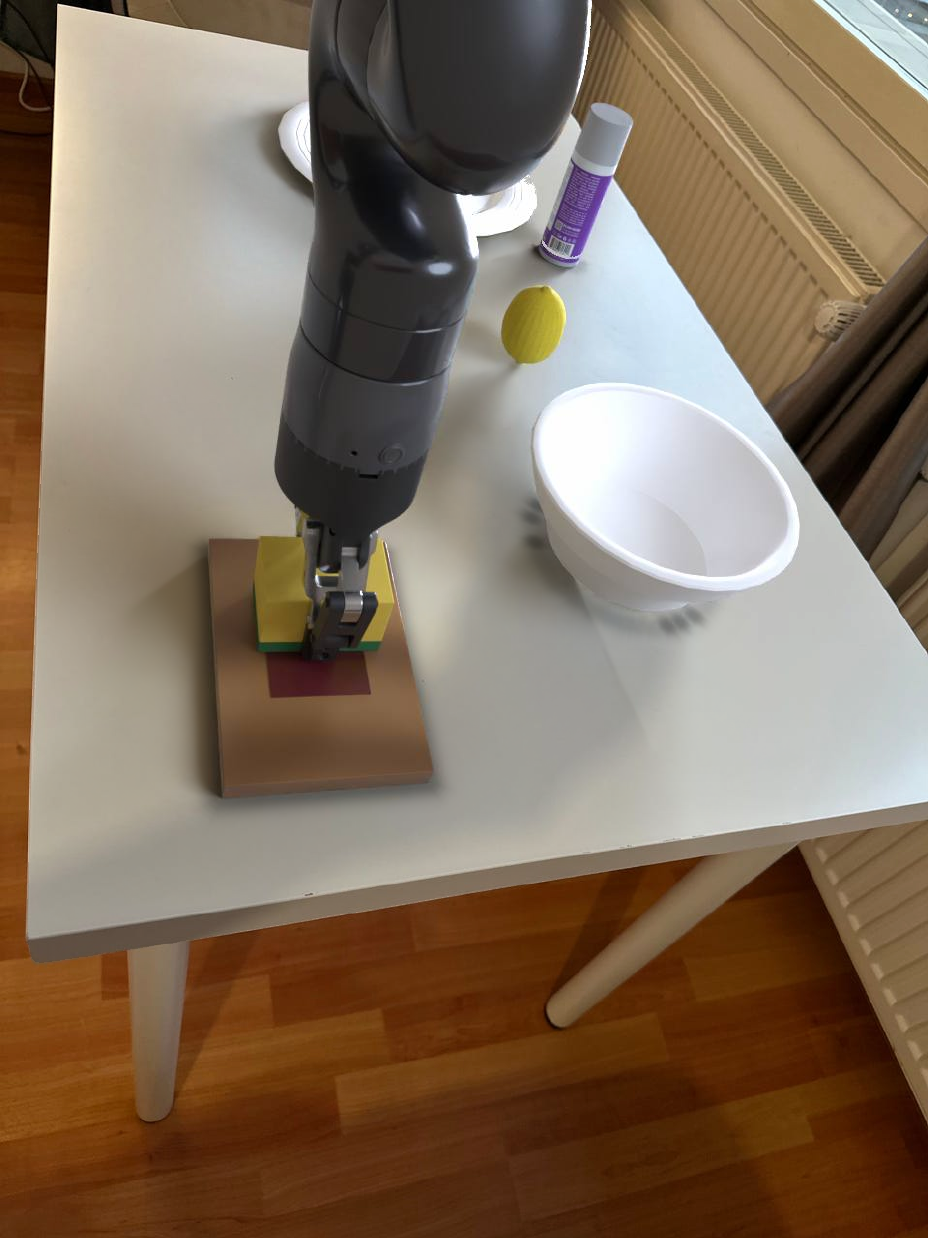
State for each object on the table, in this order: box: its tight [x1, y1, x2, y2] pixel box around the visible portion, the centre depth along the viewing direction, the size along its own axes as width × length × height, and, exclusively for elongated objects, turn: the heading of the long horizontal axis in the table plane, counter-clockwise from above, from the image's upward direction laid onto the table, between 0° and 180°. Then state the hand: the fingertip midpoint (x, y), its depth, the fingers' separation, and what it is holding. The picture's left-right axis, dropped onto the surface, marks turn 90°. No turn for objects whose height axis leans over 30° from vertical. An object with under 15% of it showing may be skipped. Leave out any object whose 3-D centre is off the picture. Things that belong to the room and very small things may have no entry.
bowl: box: [530, 382, 801, 613], centre depth 67 cm, size 21×21×8 cm
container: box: [538, 102, 634, 268], centre depth 91 cm, size 5×5×15 cm
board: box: [207, 537, 435, 799], centre depth 55 cm, size 18×12×2 cm, turn 12°
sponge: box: [253, 535, 394, 652], centre depth 54 cm, size 8×5×5 cm, turn 102°
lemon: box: [500, 285, 567, 365], centre depth 79 cm, size 6×6×8 cm
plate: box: [277, 99, 537, 239], centre depth 97 cm, size 29×29×2 cm
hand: (314, 618), depth 56 cm, fingers closed on sponge, 5 cm apart
